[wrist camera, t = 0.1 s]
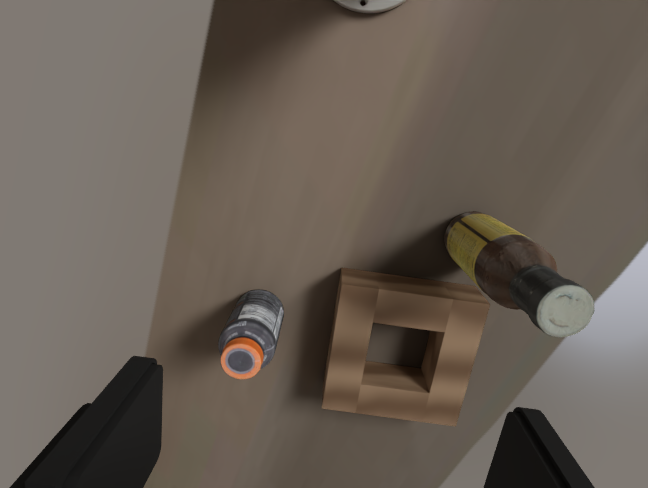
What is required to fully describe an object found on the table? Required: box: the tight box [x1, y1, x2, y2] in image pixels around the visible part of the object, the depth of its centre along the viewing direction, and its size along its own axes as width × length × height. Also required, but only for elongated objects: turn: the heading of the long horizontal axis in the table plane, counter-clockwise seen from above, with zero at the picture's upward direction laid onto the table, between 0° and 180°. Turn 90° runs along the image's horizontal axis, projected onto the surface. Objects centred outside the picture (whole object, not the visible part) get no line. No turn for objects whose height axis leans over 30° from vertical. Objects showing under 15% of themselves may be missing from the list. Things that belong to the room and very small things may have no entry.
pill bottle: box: [218, 290, 284, 379], centre depth 45 cm, size 6×6×11 cm
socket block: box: [322, 268, 490, 426], centre depth 49 cm, size 16×16×5 cm
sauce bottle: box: [444, 211, 594, 337], centre depth 38 cm, size 6×6×20 cm
